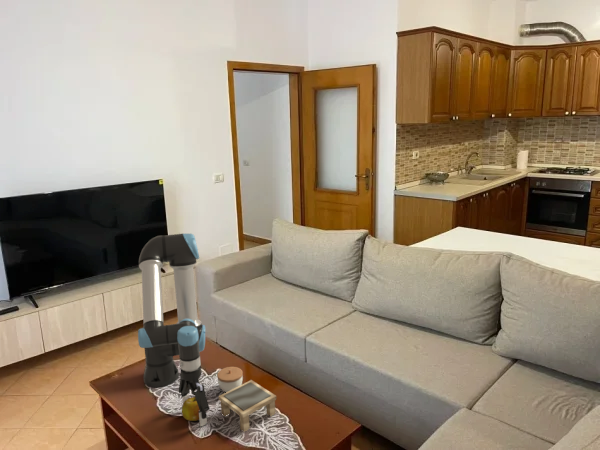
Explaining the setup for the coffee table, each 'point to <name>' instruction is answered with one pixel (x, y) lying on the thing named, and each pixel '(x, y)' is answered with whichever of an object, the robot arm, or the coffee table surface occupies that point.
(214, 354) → the coffee table surface
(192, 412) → the fruit
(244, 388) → the stool
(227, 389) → the lidded jar
